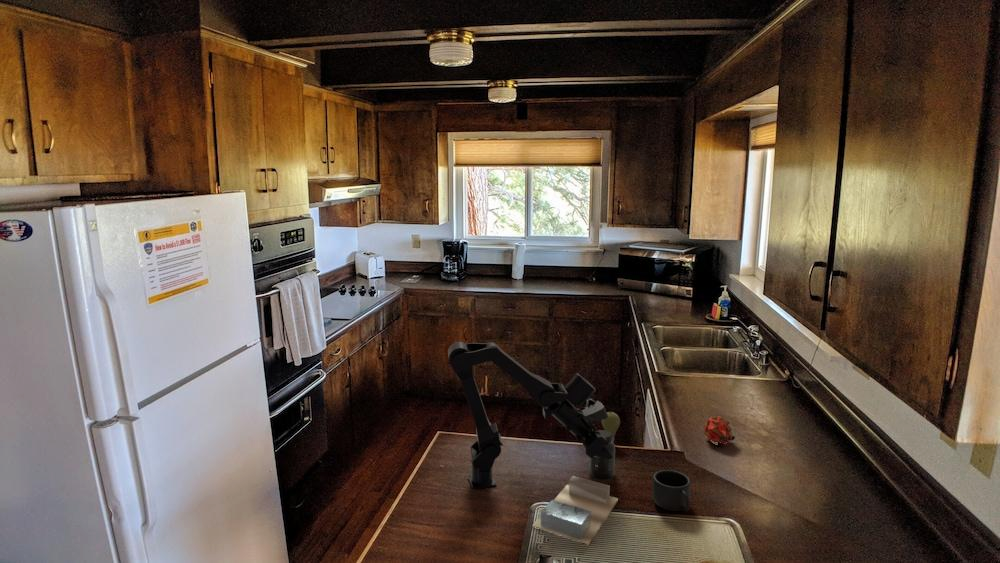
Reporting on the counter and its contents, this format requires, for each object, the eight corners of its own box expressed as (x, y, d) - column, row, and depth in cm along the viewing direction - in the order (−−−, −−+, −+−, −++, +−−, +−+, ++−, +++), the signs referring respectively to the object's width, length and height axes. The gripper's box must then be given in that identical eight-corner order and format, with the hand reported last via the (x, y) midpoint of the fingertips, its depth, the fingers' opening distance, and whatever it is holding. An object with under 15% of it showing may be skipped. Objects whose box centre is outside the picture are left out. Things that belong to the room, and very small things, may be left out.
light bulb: (597, 443, 177) (598, 412, 175) (607, 437, 181) (608, 407, 179) (613, 448, 173) (614, 417, 171) (622, 442, 177) (623, 412, 175)
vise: (567, 486, 152) (567, 472, 151) (618, 500, 145) (618, 485, 144) (532, 527, 134) (532, 511, 133) (588, 545, 127) (589, 529, 126)
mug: (645, 497, 146) (646, 472, 145) (676, 492, 149) (677, 467, 147) (671, 524, 135) (672, 496, 134) (704, 518, 137) (705, 491, 136)
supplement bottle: (584, 473, 158) (585, 433, 156) (599, 465, 163) (601, 426, 161) (603, 483, 153) (604, 441, 151) (619, 474, 158) (620, 434, 156)
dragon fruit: (713, 437, 184) (723, 460, 173) (692, 423, 183) (702, 445, 172) (731, 419, 182) (743, 441, 170) (710, 404, 181) (721, 425, 169)
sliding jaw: (551, 513, 138) (551, 499, 137) (590, 524, 133) (590, 511, 133) (540, 525, 133) (541, 512, 132) (581, 538, 128) (581, 524, 127)
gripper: (600, 408, 144) (640, 446, 148) (580, 383, 163) (616, 417, 166) (569, 439, 145) (609, 476, 148) (553, 410, 163) (590, 444, 166)
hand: (607, 451), depth 157 cm, fingers open, 7 cm apart
